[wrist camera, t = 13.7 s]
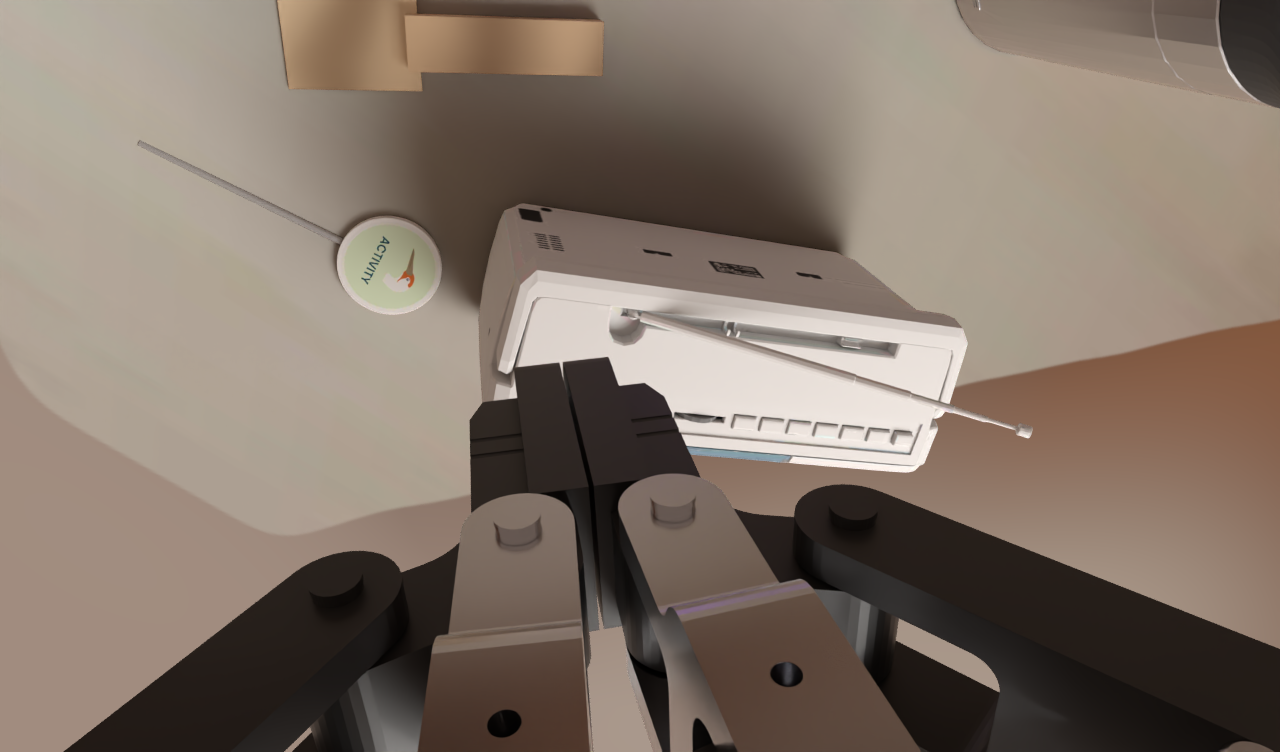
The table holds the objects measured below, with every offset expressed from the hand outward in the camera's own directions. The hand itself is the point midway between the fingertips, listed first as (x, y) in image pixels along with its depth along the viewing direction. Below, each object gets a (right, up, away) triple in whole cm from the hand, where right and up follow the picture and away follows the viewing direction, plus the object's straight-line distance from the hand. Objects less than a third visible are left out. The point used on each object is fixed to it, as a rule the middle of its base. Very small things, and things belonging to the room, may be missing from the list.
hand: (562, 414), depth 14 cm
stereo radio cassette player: (+3, +6, +34) cm, 35 cm away
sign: (-16, +9, +29) cm, 35 cm away
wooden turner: (-8, +16, +27) cm, 32 cm away
